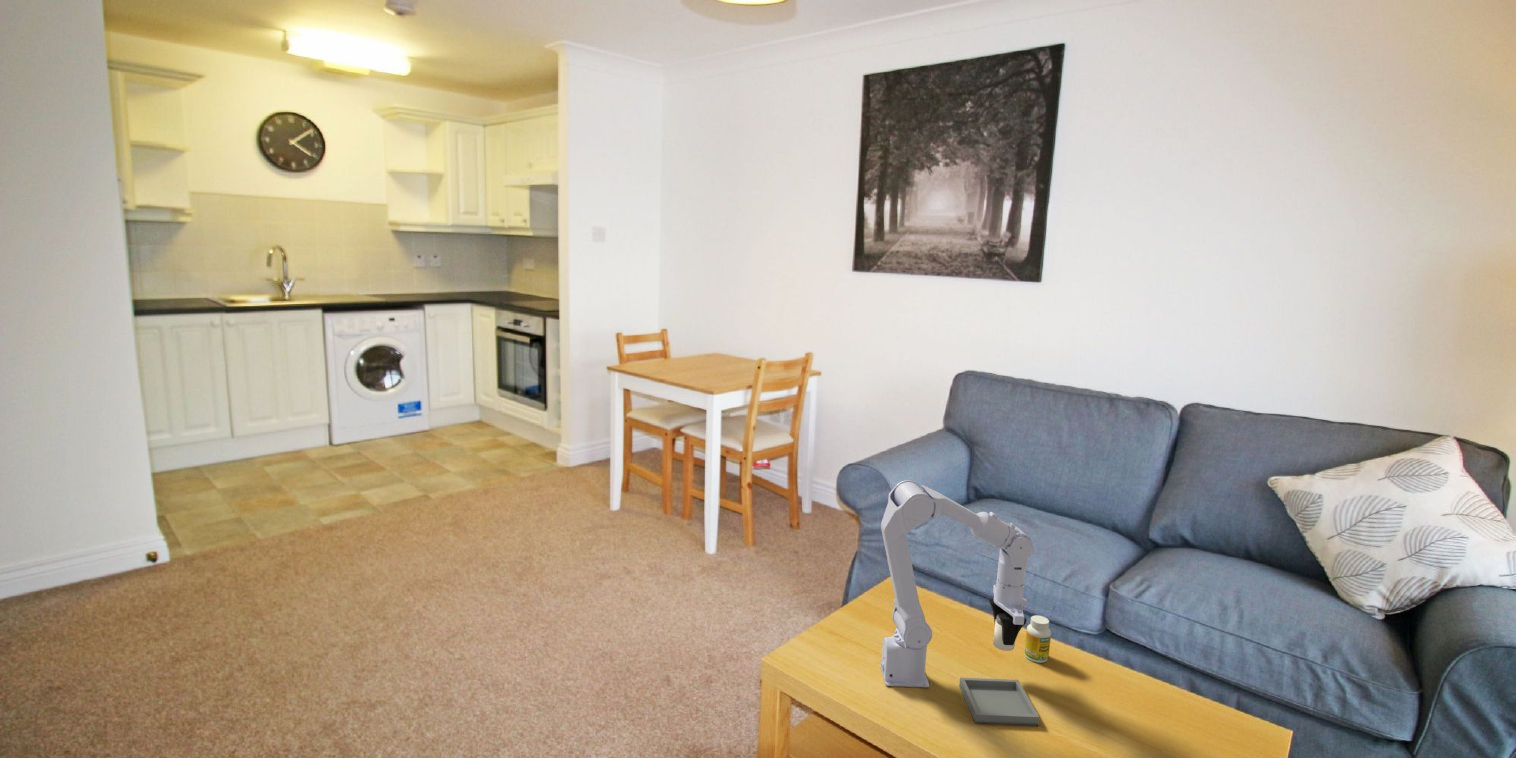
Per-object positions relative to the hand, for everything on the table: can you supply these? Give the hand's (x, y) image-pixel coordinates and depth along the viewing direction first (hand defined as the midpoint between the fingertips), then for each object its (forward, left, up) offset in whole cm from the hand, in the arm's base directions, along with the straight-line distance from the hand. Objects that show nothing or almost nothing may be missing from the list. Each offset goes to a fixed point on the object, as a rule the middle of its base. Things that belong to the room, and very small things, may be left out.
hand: (1004, 638), depth 161 cm
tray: (-4, -11, -9) cm, 15 cm away
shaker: (0, 0, -2) cm, 2 cm away
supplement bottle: (+11, +8, -9) cm, 16 cm away
